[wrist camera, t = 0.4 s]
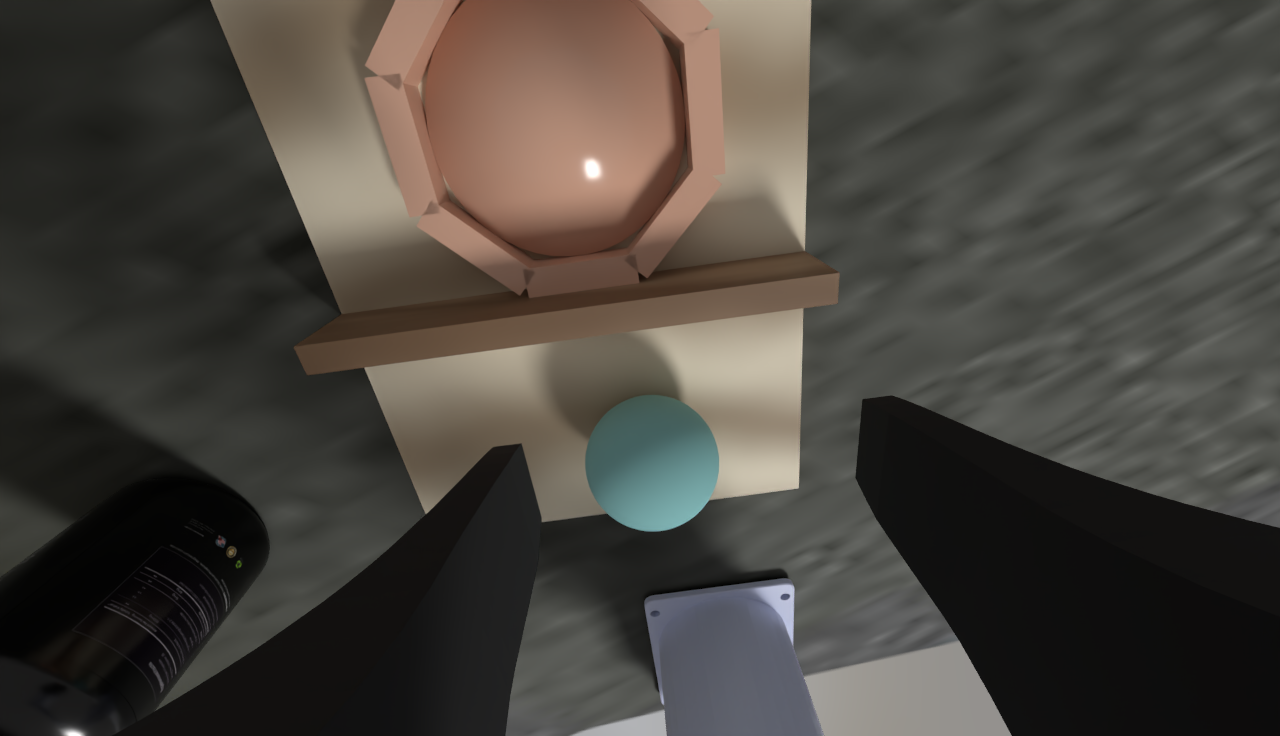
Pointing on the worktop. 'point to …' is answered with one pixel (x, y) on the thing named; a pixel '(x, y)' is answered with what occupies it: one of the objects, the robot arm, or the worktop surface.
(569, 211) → the saucer
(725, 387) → the board
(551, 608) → the worktop surface
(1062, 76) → the worktop surface
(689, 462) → the ball
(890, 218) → the worktop surface
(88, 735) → the supplement bottle
